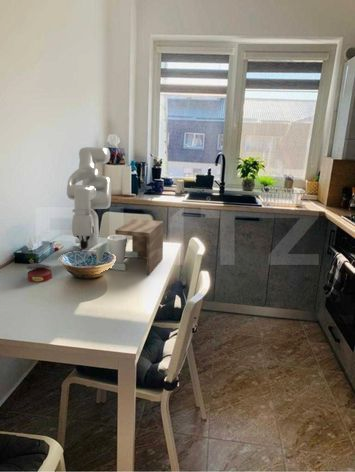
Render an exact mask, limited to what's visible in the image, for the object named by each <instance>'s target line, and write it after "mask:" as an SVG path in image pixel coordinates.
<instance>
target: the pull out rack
mask: <svg viewBox="0 0 355 472" xmlns="http://www.w3.org/2000/svg"><path fill="white" fill-rule="evenodd" d="M86 251H87V252H86V253H87V256H89V257H91V256H93V255H96V264H97V263H104V262H101V259H102V257H103V254H104V252H109V246H108V242H107V240H105V241H104V242H99V244H97V245H96V246H94V247H93V248H91V249H90V250H86ZM92 254H93V255H92ZM125 258H135V259H136V258H137V259H138V258H139V257H138V252H134V251H132V250H126V251H125ZM109 270H114V271H115V270H116V271H126V263H123V264H121V263H114V265H113V266H112V268H110V269H109Z"/></svg>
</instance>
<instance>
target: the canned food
mask: <svg viewBox="0 0 355 472" xmlns="http://www.w3.org/2000/svg"><path fill="white" fill-rule="evenodd" d="M25 268H26V269H27V270H29V271H28V272H27V280H28V281H29V282H31V283H44V282H48V281H50V280H51V279H52V278H53V272H52V270H51V269H50V268H51V266H50V265H48V264H44V263H43V264H42V263H37V262H33V263H29V264H27V266H26V267H25Z"/></svg>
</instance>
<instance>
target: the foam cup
mask: <svg viewBox="0 0 355 472" xmlns="http://www.w3.org/2000/svg"><path fill="white" fill-rule="evenodd" d="M106 241H107V242H108V246H109V252H110V253H111V254H114V255H115V256H116V261H115V263H121V264H125V258H126V257H125V251H127V249H126V248H127V243H128V237H127V235H116V234H115V235H109V236H107V240H106Z"/></svg>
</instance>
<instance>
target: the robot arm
mask: <svg viewBox="0 0 355 472" xmlns="http://www.w3.org/2000/svg"><path fill="white" fill-rule="evenodd" d="M78 159H79V164H78V168H77V169H76V170H75V171H73V172H72V173H71V175H70V176H69V178H68V180H67V185H66V196H67V198H68V199H70V200H71V201H72V200H73V201H74V208H73V209H72V212H73V213H74V214H73V215H72V220H71V222H72V223H71V233H72V234H71V235H73V237H75V240H74V242H75V244H79V245H78V248H79V250H83V251H88V250H90V249H91V248H93V247H94V246H96V245H97V244H99V243H100V233H99V216H98V214H97V212H96V211H95V210H102V209H103V210H104V209H105V210H107V209H109V208H110V207H111V203H112V180H111V178H110V177H109V176H106V175H99V174H100V172H99V170H98V168H97V167H96V164H107V163H109V161H110V160H111V151H110V149H109V148H108V147H102V146H100V147H98V146H97V147H96V146H87V147H82V148H80V149H79V151H78ZM81 181H82V184H77V183H80V182H81Z"/></svg>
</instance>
